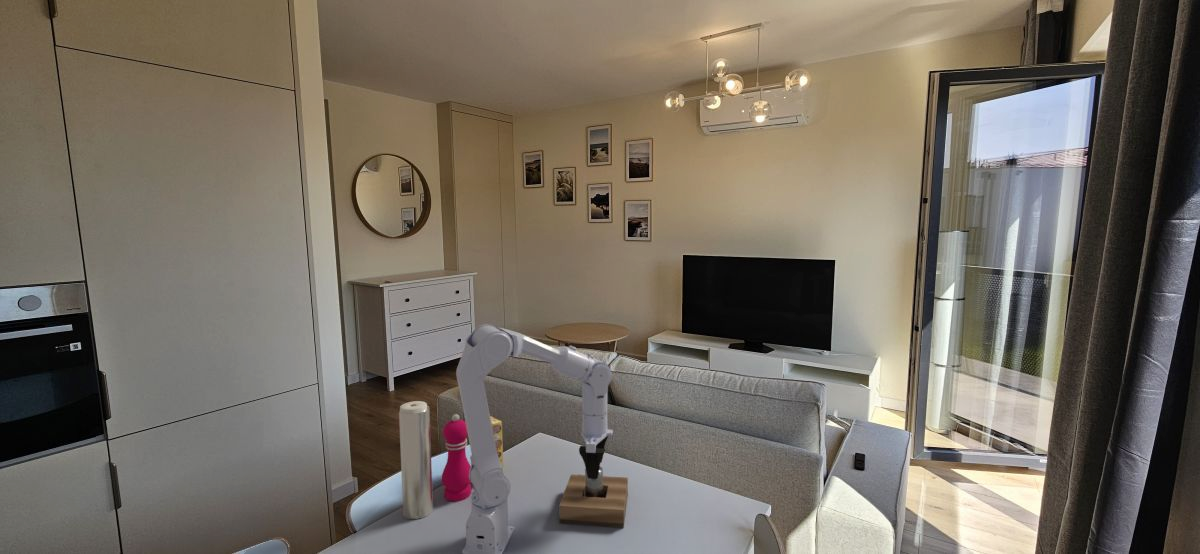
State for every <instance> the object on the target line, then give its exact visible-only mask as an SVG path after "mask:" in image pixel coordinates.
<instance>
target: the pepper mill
mask: <svg viewBox="0 0 1200 554" xmlns="http://www.w3.org/2000/svg"><path fill="white" fill-rule="evenodd" d="M442 435H443V438H444V439H445V448H446V449H447V459H446V464H445V466H444V468H443V471H442V474H441V483H442V485H443V486H444V490H443V491H444V492H443V493H444V495H443V496H444V498H445V500H447V501H450V502H459V501H462V500H466V499H467V498H468V497H470V496H471V495H472V483H471V481H470V479H469V471H470V468H471V463H469V461H468V457H467V454H466V453H467V452H466V447H467V446H468V439H467V437H468V433H467V427H466V422H465V420H463V419H460V415H459V414H458V413H455V414H453V415H452V416H451V420H450V421H448V422H447V423H446V424H445V425H444V427H443V430H442Z"/></svg>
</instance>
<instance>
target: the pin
mask: <svg viewBox="0 0 1200 554" xmlns="http://www.w3.org/2000/svg"><path fill="white" fill-rule="evenodd" d="M603 472H604V469H603V467H601V466H600V468H599V474H598V478H597V479H589V478H588V476H587V472H586V468H585V469H584V475H585V483H586V497H598V498H603V476H604V475H603V474H604V473H603Z"/></svg>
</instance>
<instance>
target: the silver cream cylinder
mask: <svg viewBox="0 0 1200 554" xmlns="http://www.w3.org/2000/svg"><path fill="white" fill-rule="evenodd" d="M430 413H431V411H430V405H428V404H427V402H425V401H421V400H420V401H419V400H414V401H409V402H406V403H403V404H401V405H400V406H399V412H398V418H399V443H400V445H399V446H400V467H401V469H400V470H401V471H400V472H401V492H402V493H401V494H402V495H401V496H402V516H403V517H404V518H405V519H407V520H418V519H419V518H420V519H423V518H426V517H427V516H429V515H430V514H431V513H432V512H433V511H434V500H433V498H434V497H433V475H432V473H433V472H432V445H431V444H432V443H431V417H430V416H431V415H430ZM420 519H419V520H420Z"/></svg>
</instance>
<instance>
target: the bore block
mask: <svg viewBox="0 0 1200 554" xmlns="http://www.w3.org/2000/svg"><path fill="white" fill-rule="evenodd" d="M628 484H629V478H628V477H624V476H623V477H622V476H621V477H620V476H607V475H605V476H604V475H603V498H598V497H586V483H585V474H584V475H583V474H570V476H569V478H568V481H567V484H566V486H565V489H564V492H563V495H562V498H561V500H560V503H559V506H558V507H559V510H558V512H559V513H558V514H559V515H558V516H559V518H558V519H559V520H558V521H559V523H558V524H562V525H574V526H588V527H589V526H592V527H604V528H605V527H606V528H619V529H620V528H621V529H624V528H625V520H626V511H627V506H628V505H627V504H628V496H629V485H628Z"/></svg>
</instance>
